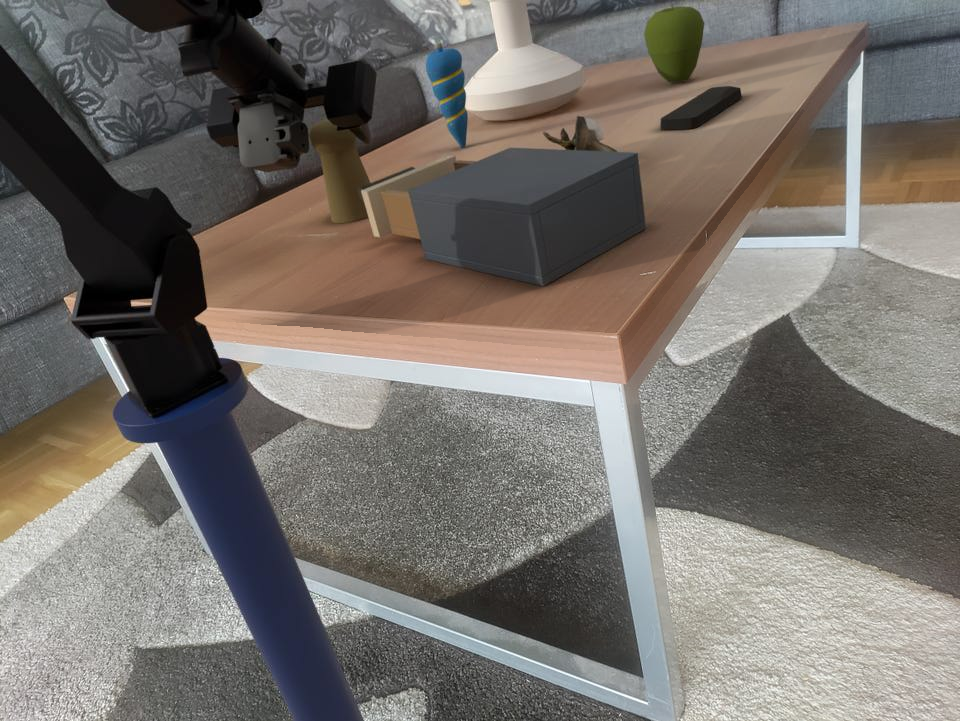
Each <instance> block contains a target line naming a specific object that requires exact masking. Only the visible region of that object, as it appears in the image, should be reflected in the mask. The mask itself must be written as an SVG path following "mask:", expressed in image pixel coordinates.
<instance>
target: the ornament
mask: <svg viewBox="0 0 960 721" xmlns="http://www.w3.org/2000/svg"><path fill="white" fill-rule="evenodd" d="M437 40H438V43H437ZM434 47H435V51H432V52H430V53H428V54H427V56H426V59H425V60H426V62H425V70H426V74H427V77H428V79H429V81H430V82H431V84H432V91H433V94H434V96H435V98H436V99H437V101H438V102H439V108H440V112H441V114H442V116H443V117H444V119H445V121H446V128H447V131H449V133H450V135H451V136H452V137H453V139H454V140H455V141H456V144H458V146H459V147H460V148H461V149H463V148H466V146H467V136H468V135H467V134H468V119H469V118H468V116H469V115H468V111H467V110H466V108H465V104H466V92H465V89H464V87H465V86H464V85H465V78H466V77H465V75H466V74H465V72H464V70H463V67H462V65H463V64H462V63H463V57H462V54H461V52H460V51H459V50H457V49H455V48H443V44H442V42H440V39H439V38H438V37H437V38H436V39H435V44H434Z"/></svg>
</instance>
